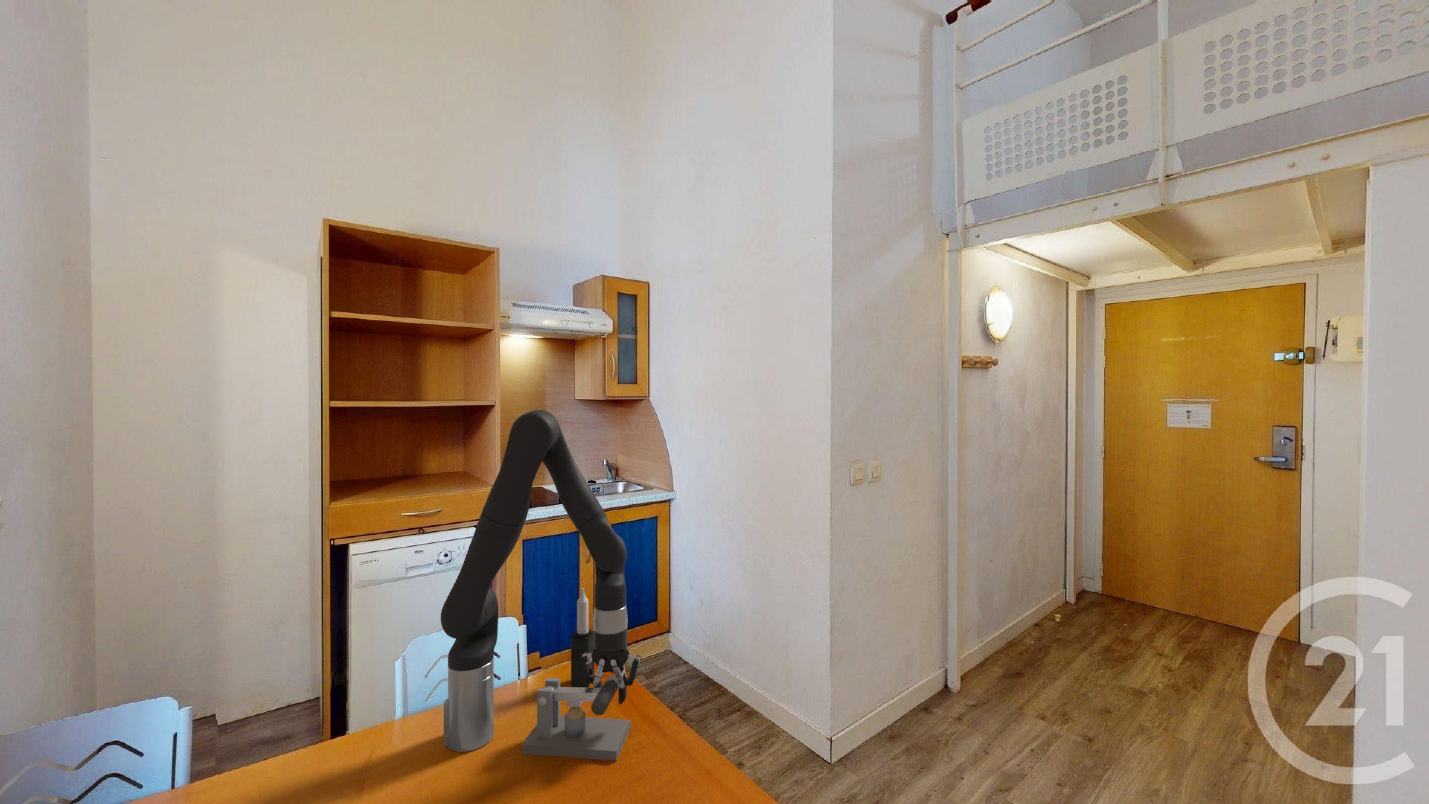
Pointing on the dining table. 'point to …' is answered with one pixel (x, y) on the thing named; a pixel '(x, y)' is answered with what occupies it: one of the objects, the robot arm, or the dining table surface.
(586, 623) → the black and grey rod
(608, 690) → the lever
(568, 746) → the base
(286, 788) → the dining table surface
